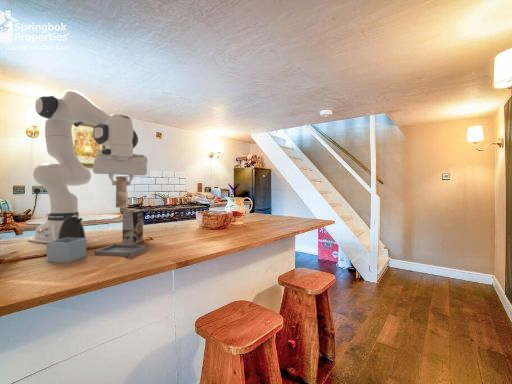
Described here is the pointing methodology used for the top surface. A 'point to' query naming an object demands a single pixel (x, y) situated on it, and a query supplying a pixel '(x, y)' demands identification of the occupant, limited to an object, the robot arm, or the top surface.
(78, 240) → the slate blue storage bin
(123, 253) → the tray
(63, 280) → the top surface
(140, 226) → the coffee box
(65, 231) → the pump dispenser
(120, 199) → the dowel
